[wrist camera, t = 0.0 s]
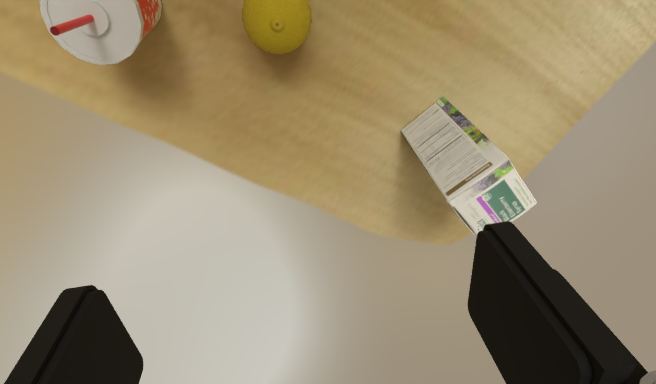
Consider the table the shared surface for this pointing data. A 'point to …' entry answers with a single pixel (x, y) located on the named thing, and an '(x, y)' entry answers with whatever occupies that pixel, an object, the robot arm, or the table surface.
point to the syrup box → (467, 167)
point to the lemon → (277, 23)
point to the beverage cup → (100, 26)
